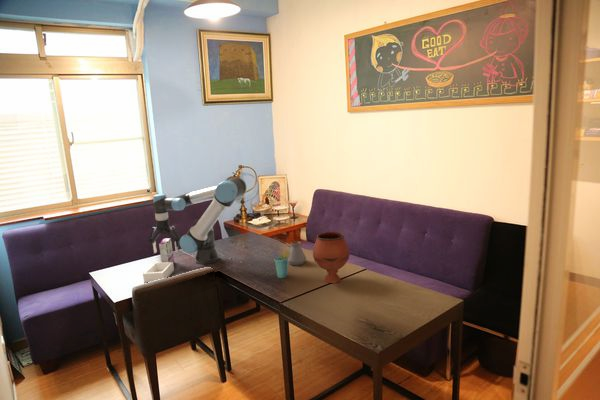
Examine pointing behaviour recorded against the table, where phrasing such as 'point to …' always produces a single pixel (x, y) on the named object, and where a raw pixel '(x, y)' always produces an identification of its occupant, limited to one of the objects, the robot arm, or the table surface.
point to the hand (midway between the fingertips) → (166, 252)
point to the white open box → (158, 271)
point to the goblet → (331, 254)
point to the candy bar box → (166, 250)
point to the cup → (281, 264)
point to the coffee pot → (295, 253)
